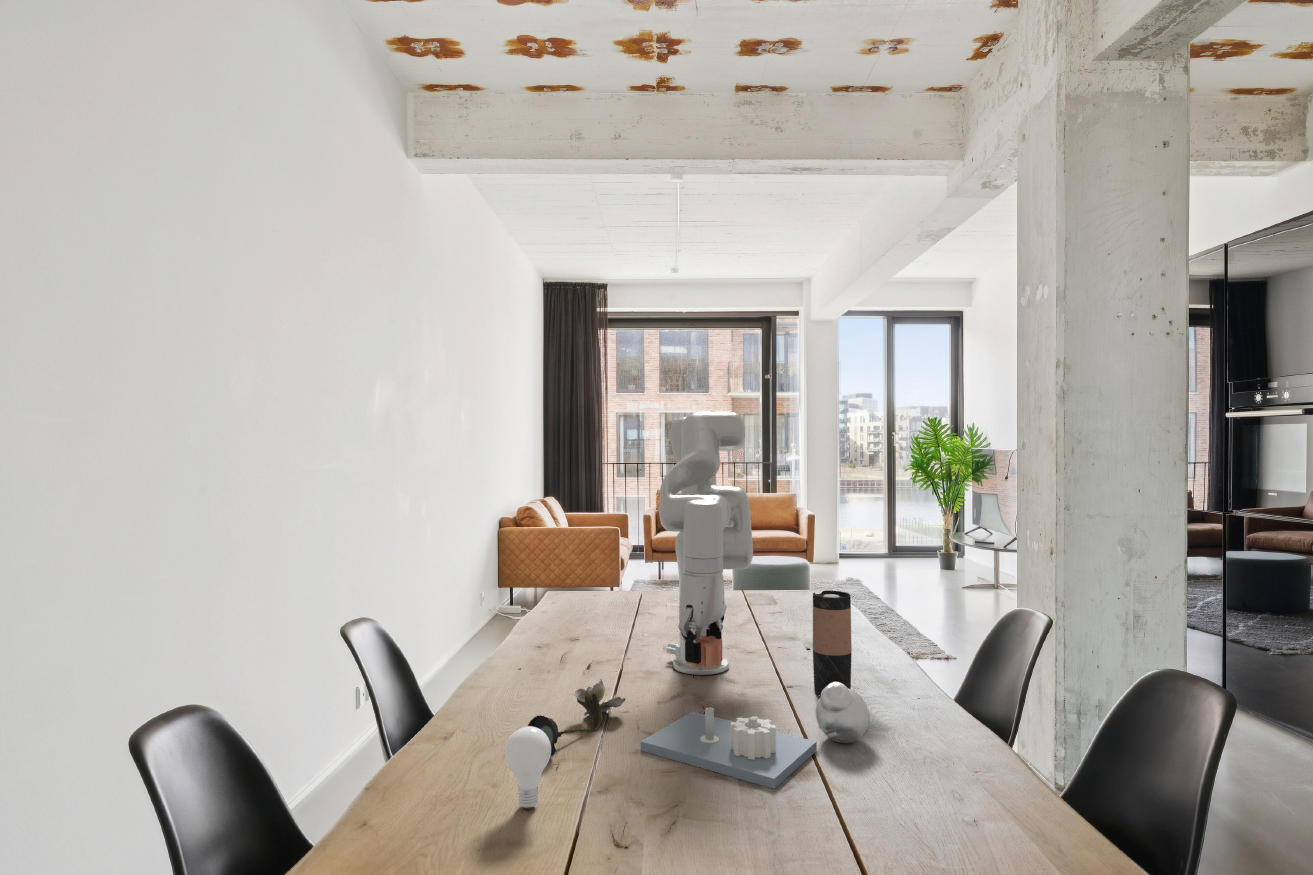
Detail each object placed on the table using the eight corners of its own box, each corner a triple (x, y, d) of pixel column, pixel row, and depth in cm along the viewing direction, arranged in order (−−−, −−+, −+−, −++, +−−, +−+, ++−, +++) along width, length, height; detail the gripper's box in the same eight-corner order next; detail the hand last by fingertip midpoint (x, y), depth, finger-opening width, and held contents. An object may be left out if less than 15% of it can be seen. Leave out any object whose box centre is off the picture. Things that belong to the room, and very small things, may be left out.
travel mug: (853, 700, 142) (852, 598, 142) (813, 698, 143) (812, 597, 144) (850, 687, 149) (849, 590, 150) (812, 685, 151) (812, 589, 151)
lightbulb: (507, 797, 104) (507, 720, 104) (552, 795, 104) (552, 718, 104) (502, 820, 97) (501, 737, 97) (549, 817, 98) (549, 735, 98)
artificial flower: (516, 761, 119) (509, 697, 122) (602, 732, 137) (595, 677, 140) (556, 758, 114) (548, 692, 117) (640, 729, 133) (631, 672, 135)
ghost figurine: (802, 735, 125) (802, 677, 125) (848, 727, 129) (847, 670, 129) (834, 756, 117) (833, 693, 117) (881, 746, 120) (881, 686, 120)
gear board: (640, 750, 119) (640, 710, 119) (692, 719, 132) (691, 684, 133) (774, 788, 106) (774, 744, 106) (816, 750, 119) (816, 710, 119)
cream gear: (728, 757, 113) (728, 731, 113) (733, 739, 120) (733, 714, 120) (774, 761, 111) (774, 735, 111) (776, 742, 118) (776, 718, 118)
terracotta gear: (678, 663, 138) (678, 642, 138) (697, 652, 144) (697, 632, 144) (710, 670, 134) (710, 649, 134) (729, 659, 140) (728, 639, 140)
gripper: (709, 554, 148) (709, 640, 149) (661, 570, 134) (662, 665, 134) (742, 558, 144) (742, 647, 144) (696, 576, 129) (696, 674, 130)
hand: (703, 655), depth 139 cm, fingers closed on terracotta gear, 7 cm apart
